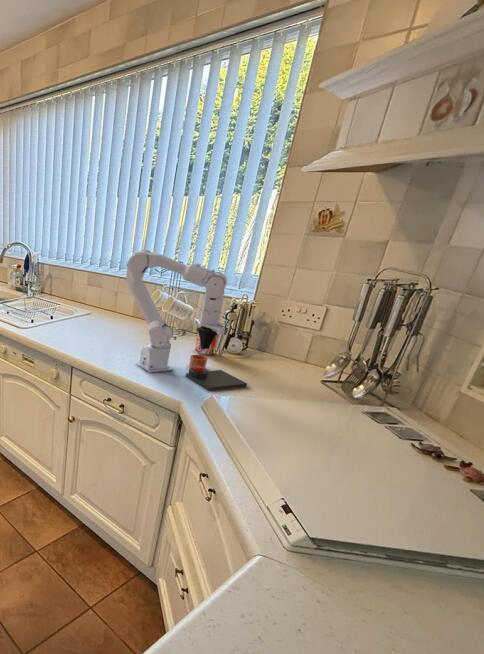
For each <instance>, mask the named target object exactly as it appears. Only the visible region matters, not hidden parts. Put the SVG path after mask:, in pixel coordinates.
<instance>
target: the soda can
mask: <svg viewBox="0 0 484 654" xmlns="http://www.w3.org/2000/svg"><path fill="white" fill-rule="evenodd" d="M218 337H219V334H217V335H216V337H215V338H214V339H213V341H212V343H211V345H210V347H209V349H202V348H201V344H200V337H199V333H198V332H197V337H196V341H195V348H194V349H195V352H197V354H198V355H202V356H209V355H211V354H214V352H215V350H216V345H217V342H218Z"/></svg>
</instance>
